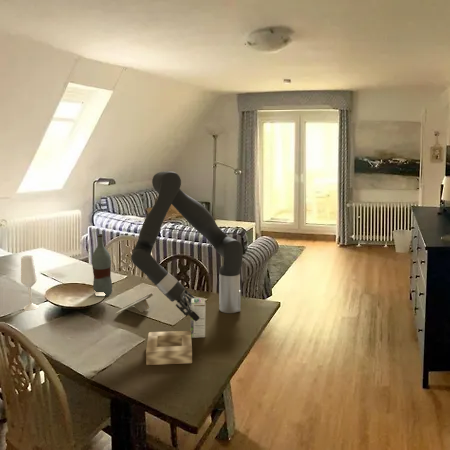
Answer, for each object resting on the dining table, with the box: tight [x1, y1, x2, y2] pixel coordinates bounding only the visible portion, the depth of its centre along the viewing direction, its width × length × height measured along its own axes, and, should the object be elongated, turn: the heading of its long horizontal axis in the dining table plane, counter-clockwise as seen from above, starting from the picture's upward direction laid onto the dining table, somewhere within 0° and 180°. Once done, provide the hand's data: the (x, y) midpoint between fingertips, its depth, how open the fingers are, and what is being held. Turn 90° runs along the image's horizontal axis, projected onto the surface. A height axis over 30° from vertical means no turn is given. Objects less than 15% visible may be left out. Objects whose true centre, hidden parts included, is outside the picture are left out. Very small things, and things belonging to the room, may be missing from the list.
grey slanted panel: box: [116, 290, 155, 314], centre depth 218 cm, size 16×9×15 cm
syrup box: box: [190, 297, 206, 339], centre depth 194 cm, size 6×6×14 cm
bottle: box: [91, 233, 113, 297], centre depth 237 cm, size 9×9×30 cm
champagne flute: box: [20, 255, 40, 311], centre depth 221 cm, size 7×7×24 cm
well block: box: [145, 330, 193, 366], centre depth 180 cm, size 16×16×5 cm
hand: (199, 315), depth 194 cm, fingers open, 8 cm apart
